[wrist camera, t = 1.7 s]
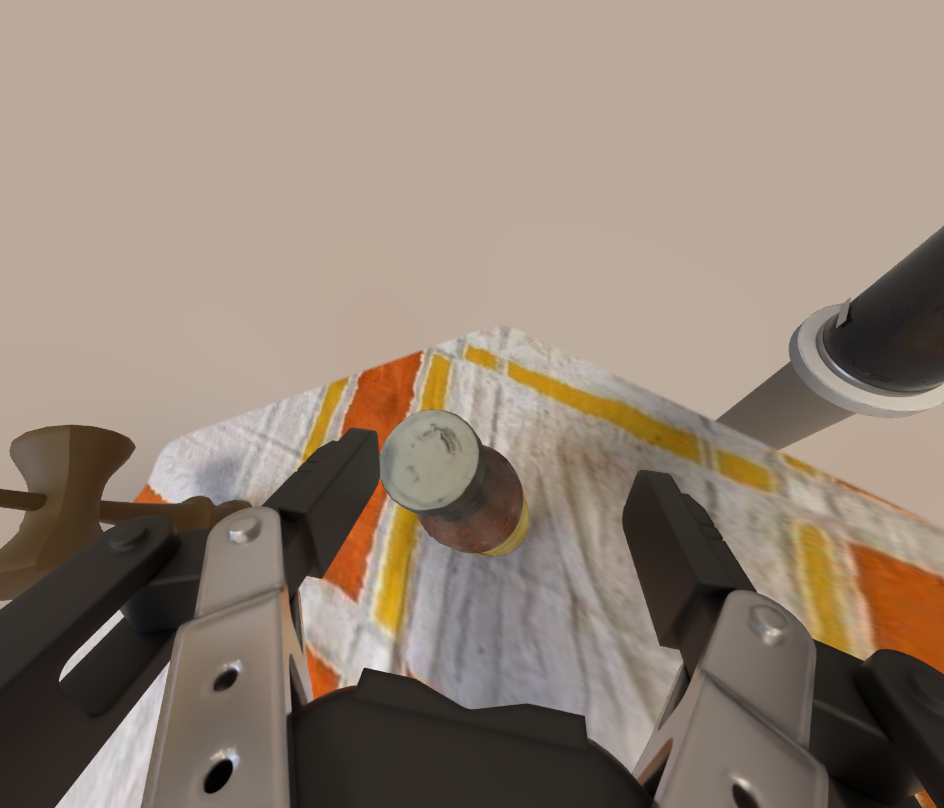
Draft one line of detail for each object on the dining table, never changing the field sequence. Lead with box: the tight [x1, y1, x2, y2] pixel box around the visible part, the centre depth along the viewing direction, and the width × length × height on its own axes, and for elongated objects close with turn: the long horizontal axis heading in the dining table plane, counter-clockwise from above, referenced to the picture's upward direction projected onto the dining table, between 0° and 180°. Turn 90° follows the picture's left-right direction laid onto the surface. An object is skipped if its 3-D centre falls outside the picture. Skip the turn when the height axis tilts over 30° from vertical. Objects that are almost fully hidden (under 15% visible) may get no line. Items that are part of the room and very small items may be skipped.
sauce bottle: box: [380, 409, 529, 557], centre depth 21 cm, size 7×6×20 cm
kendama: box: [0, 425, 249, 601], centre depth 25 cm, size 6×10×20 cm, turn 21°
